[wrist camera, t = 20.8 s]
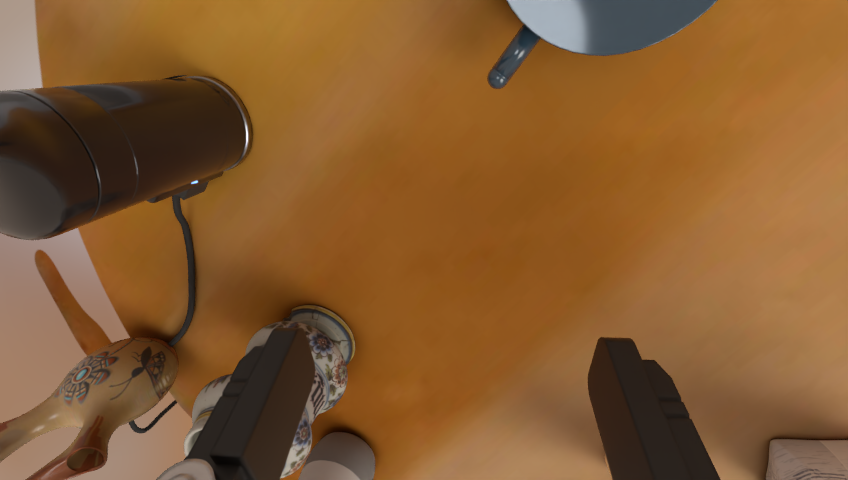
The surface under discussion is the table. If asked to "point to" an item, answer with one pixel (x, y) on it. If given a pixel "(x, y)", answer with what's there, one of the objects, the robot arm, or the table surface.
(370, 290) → the table surface
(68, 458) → the ceramic vessel
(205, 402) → the apothecary jar
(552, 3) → the pot lid
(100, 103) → the robot arm
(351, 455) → the smart speaker
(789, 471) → the juice carton
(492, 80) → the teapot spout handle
